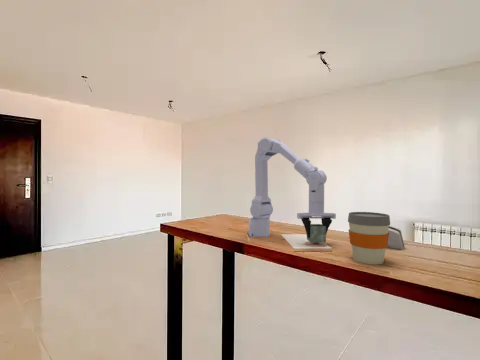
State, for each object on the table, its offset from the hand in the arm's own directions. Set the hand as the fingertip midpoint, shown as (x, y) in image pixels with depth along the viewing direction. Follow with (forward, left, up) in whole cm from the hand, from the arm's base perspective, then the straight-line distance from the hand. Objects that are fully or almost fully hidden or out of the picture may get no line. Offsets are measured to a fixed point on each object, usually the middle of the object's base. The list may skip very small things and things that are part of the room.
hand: (316, 237), depth 104 cm
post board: (-3, +6, -4) cm, 8 cm away
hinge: (+27, +3, -4) cm, 27 cm away
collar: (0, 0, -1) cm, 1 cm away
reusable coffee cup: (+12, -16, -4) cm, 20 cm away
